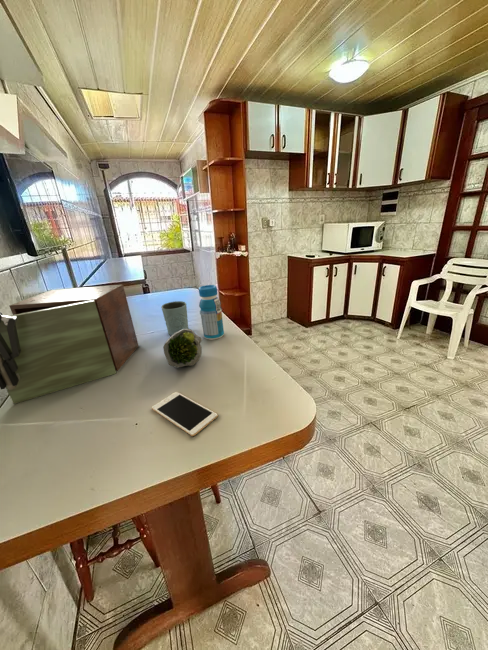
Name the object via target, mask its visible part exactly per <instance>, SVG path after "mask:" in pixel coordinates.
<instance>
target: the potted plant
mask: <svg viewBox="0 0 488 650" xmlns="http://www.w3.org/2000/svg"><path fill="white" fill-rule="evenodd" d="M202 341H203V338H202V337H201V336H199V335H197V334H196V333H195V331H194V330H192V329H190V328H188V329H183V330H180V331H178V332H176V333H174V334H173V335H170V337H169V338H167V340H166V341H165V342H164V344H163V347H162V350H163V353H164V355H165V358H166V361H167V363H168V365H169V366H172V367H174V368H176V369H177V368H182V367H187V366H188V367H193V366H195V364H197V362H198V361H199V360H200V358H201V356H202V352H203V351H202V349H203V348H202V345H201V342H202Z"/></svg>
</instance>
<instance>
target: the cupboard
mask: <svg viewBox="0 0 488 650" xmlns="http://www.w3.org/2000/svg"><path fill="white" fill-rule="evenodd" d="M91 300H94V301H95V304H96V308H97V311H98V314H99V317H100V321H101V324H102V327H103V331H104V334H105V337H106V340H107V344H108V347H109V350H110V354H111V357H112V360H113V363H114V367H115V370H116V372H118V371H119V370H120V369H121V368H122V367H123V365H125V363H126V362H127V361H128V359H129V358H130V357H131V355H133V353H135V351H136V350H137V349H138V348H139V342H138V337H137V333H136V331H135V327H134V322H133V318H132V314H131V311H130V306H129V303H128V298H127V295H126V291H125V287H124V284H111V285H97V286H96V285H95V286H85V287H72V288H59V289H50V290H47V291H44V292H42V293H38V294H37V295H36V294H35V295H33V296H31V297H28V298H26V299H23V300H20V301H18V302H15V303H12V304H10V305H9V309H10V312H11V315H16V314H21V313H27V312H32V311H37V310H43V309H48V308H54V307H59V306H64V305H70V304H75V303H81V302H86V301H91Z"/></svg>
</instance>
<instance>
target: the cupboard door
mask: <svg viewBox="0 0 488 650" xmlns="http://www.w3.org/2000/svg"><path fill="white" fill-rule="evenodd" d="M9 316H10V317H12V316H16V317H17V322H16V329H17V334H18V339H19V343H20V348H21V353H20V355H19V356H18V357H15V358H14V359H15V361H16V364H17V366H18V370H17V371H16V372H15V373H16V375H17V377H18V379H19V381H18V383H17V385H15V386H13V385H12V383H11V381H10V379H9V377H8V375H7V373H6V371H5V368H4V366H3V364H2V363H3V362H4V358H3V356H2V355H1V353H0V373H1V375H2V377H3V379H4V381H5V383H6V387H5V389H6V392H7V393H8V395H9V398H10V399H11V401H12V404H13V405H15V404H19V403H22V402H26V401H29V400H31V399H35V398H39V397H43V396H45V395H48V394H52V393H56V392H59V391H62V390H65V389H69V388H72V387H77V386H79V385H82V384H86V383H89V382H92V381H96V380H99V379H103V378H106V377H110V376H112V375H116V374H117V371H116V370H115V367H114V363H113V360H112V357H111V354H110V350H109V347H108V344H107V340H106V337H105V334H104V331H103V327H102V324H101V321H100V317H99V314H98V311H97V308H96V304H95V301H94V300H91V301H86V302H81V303H75V304H70V305H64V306H59V307H54V308H48V309H43V310H37V311H32V312H27V313H21V314H16V315H13V314H11V315H9ZM0 333H1V335H2V337H3V338H4V340H5V342H6V343H7V345H8V347H9V348H10V350H11V352H12V349H11V345H10V340H9V336H8V331H7V325H5V324H4V321H2V320H1V322H0Z"/></svg>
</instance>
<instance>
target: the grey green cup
mask: <svg viewBox="0 0 488 650" xmlns="http://www.w3.org/2000/svg"><path fill="white" fill-rule="evenodd" d="M161 311H162V315H163V319H164V321H165V326H166V329H167V333H168V335H170V336H172V335H173V334H174V333H176V332H178V331H180V330H183V329H189V320H188V319H189V318H188V306H187V302H186V301H183V300H175V301H170V302H166V303H164V304H162V305H161Z"/></svg>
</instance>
